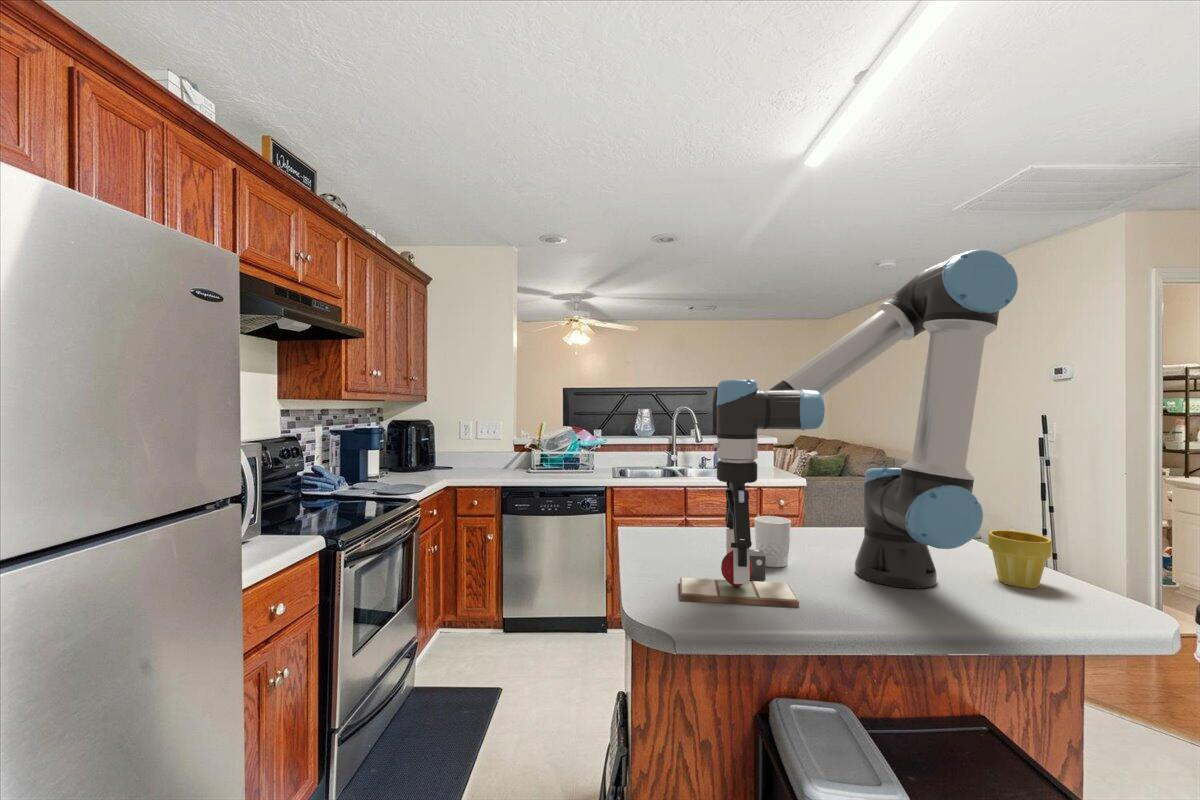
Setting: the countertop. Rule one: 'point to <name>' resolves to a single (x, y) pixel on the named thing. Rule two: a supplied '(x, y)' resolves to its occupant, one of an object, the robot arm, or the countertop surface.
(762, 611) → the countertop surface
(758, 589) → the board
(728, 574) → the onion
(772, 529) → the white cup
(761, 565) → the die
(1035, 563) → the plant pot
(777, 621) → the countertop surface
